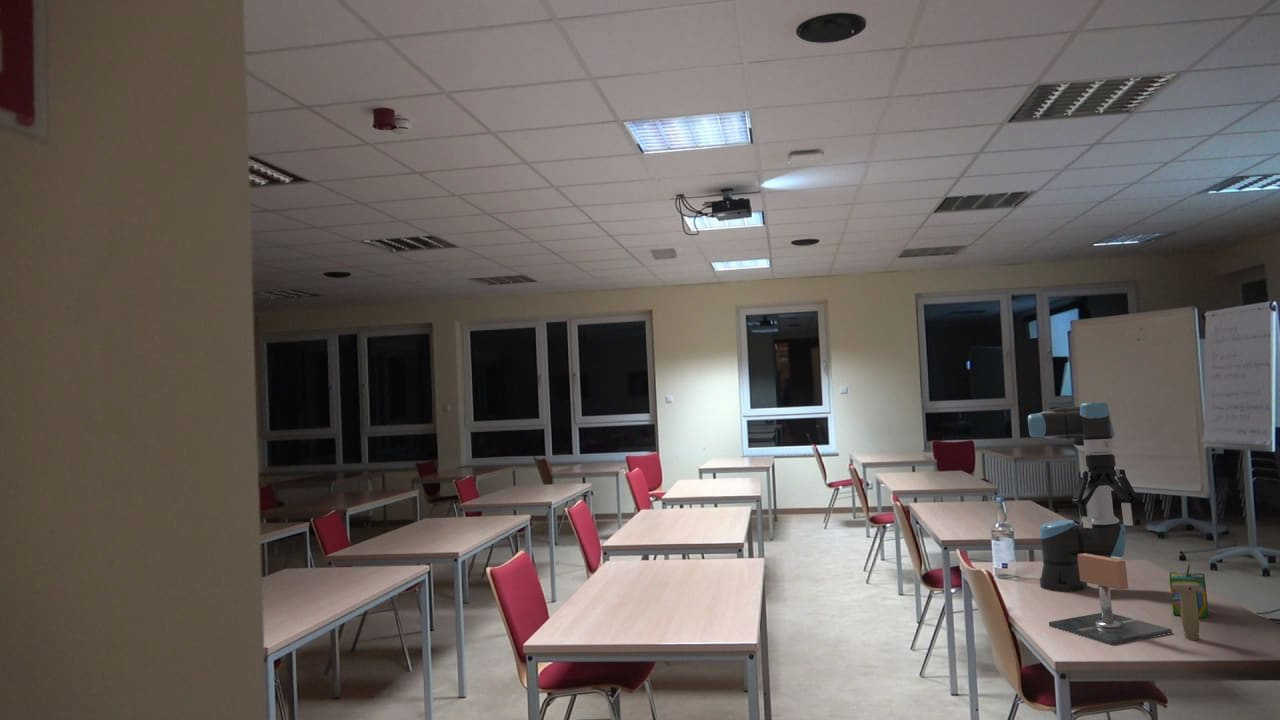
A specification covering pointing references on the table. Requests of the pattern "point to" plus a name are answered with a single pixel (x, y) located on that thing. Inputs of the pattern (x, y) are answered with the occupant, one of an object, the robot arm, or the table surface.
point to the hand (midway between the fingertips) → (1108, 526)
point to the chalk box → (1199, 595)
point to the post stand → (1109, 624)
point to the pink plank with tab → (1103, 571)
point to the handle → (1188, 608)
